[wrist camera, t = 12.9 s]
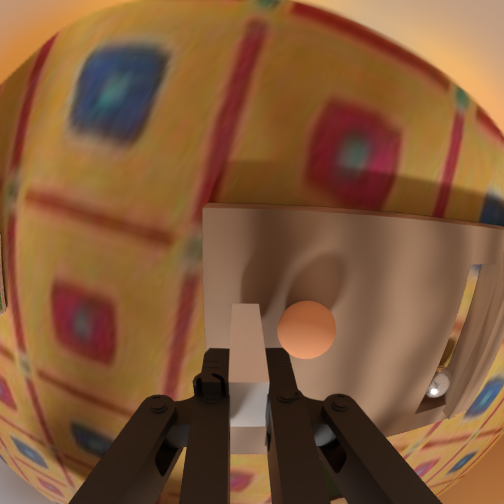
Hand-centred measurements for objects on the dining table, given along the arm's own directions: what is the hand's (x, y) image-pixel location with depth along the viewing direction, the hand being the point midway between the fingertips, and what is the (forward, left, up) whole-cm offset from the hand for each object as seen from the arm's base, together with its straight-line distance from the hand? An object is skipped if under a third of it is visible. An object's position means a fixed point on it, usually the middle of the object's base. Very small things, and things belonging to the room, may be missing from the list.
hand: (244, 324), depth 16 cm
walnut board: (+12, -5, -4) cm, 14 cm away
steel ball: (+19, -9, -2) cm, 21 cm away
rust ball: (+3, 0, 0) cm, 4 cm away
